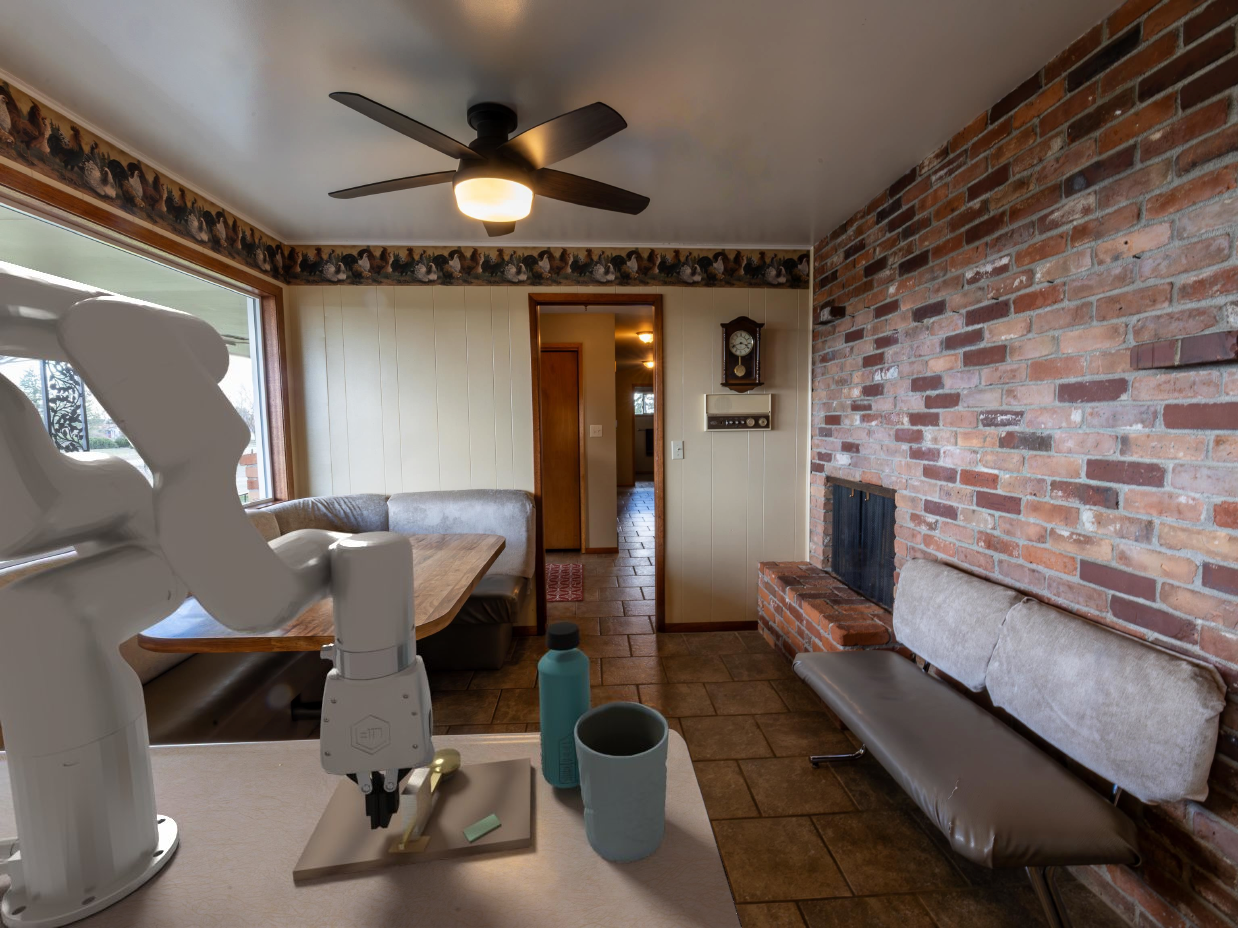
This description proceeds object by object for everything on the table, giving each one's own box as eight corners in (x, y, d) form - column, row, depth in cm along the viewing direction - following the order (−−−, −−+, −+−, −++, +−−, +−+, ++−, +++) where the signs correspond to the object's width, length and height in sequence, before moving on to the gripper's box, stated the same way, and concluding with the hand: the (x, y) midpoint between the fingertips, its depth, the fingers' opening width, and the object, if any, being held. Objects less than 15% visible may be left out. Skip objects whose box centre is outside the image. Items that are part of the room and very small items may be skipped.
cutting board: (293, 880, 52) (291, 861, 51) (340, 787, 64) (339, 772, 64) (530, 846, 55) (529, 828, 55) (530, 764, 68) (530, 750, 68)
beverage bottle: (586, 804, 61) (582, 640, 59) (532, 797, 62) (527, 635, 60) (599, 767, 67) (596, 617, 65) (550, 761, 69) (546, 614, 67)
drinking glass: (675, 866, 52) (675, 754, 51) (574, 872, 52) (572, 759, 51) (662, 793, 63) (661, 698, 61) (577, 797, 62) (575, 701, 61)
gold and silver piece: (433, 761, 67) (431, 724, 66) (465, 761, 67) (463, 723, 66) (382, 857, 52) (379, 810, 52) (422, 857, 52) (419, 810, 52)
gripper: (280, 676, 49) (291, 856, 51) (445, 665, 51) (450, 839, 53) (314, 641, 56) (322, 800, 58) (457, 634, 59) (461, 786, 60)
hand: (383, 818), depth 56 cm, fingers closed
